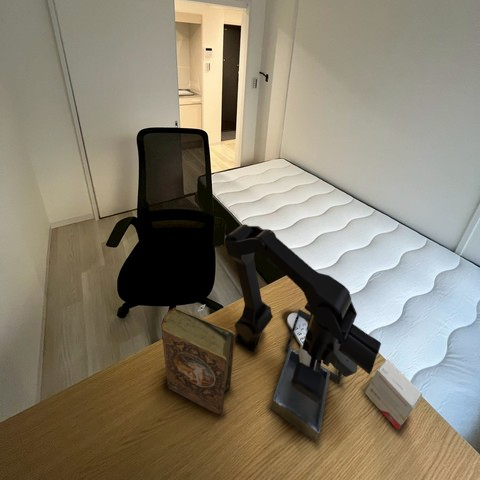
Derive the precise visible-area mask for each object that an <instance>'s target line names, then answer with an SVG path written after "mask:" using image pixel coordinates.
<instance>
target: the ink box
mask: <svg viewBox="0 0 480 480" xmlns="http://www.w3.org/2000/svg"><path fill="white" fill-rule="evenodd" d="M365 395H366V396H367V397H368V399H370V401H371V402H372V403H373V404H374V405H375V406H376V408H377V409H378V410H379V411H380V412H381V413H382V415H384V417H385V418H387V420H388V421H389V422H390V423H391V425H392V426H393V427H394V428H395V429H396V430H398V431H399V430H400V428H401V427H402V425H403V424H404V423H405V422H406V420H407V418H408V417H409V416H410V414H411V413H412V412H413V410H414V409H415V407H416V406H417V405H418V403H419V401H420V399H421V398H422V396H423V393H422V392H421V391H420V390H419V388H417V387H416V386H415V385H414V383H412V382H411V381H410V380H409V378H407V377H406V376H405V374H403V373H402V371H400V369H399V368H398V367H397V366H395V365H394V363H392V362H391V361H390V359H388V358H387V359H385V361H383V362H382V363H381V364H380V366H379V367H378V368H377V369H376V371H375V373H374V375H373V377H372V378H371V381H370V382H369V385H368V387H367V388H366V390H365Z"/></svg>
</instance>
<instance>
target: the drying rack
mask: <svg viewBox="0 0 480 480" xmlns="http://www.w3.org/2000/svg"><path fill="white" fill-rule="evenodd" d="M309 317H310V313H308V312H305V311H303V310H301V309H300V308H299V309H298V311H297V314H296V316H295V320H294V321H293V324H292V328H291V330H290V333H289V337H288V339H287V342H286V346H285V350H284V352H286V353H287V354H288V351H289V348H290V347H291V343H292V340H293V337H294V334H295V332H296V328H297V325H298V322H299V319H300V318H302V319H304V320H306V321H309ZM291 348H292V349H294V348H293V347H291ZM296 351H297V352H299V350H296ZM324 368H325V369H327V368H326V367H324ZM329 371H330V377H329V380H331V381H333V382H334V383H336V384H337V385H339V384H340V383H341V380H342V373H341V372H339V371H338V370H337V372H336V373H334V372H333V371H331V370H329Z"/></svg>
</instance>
